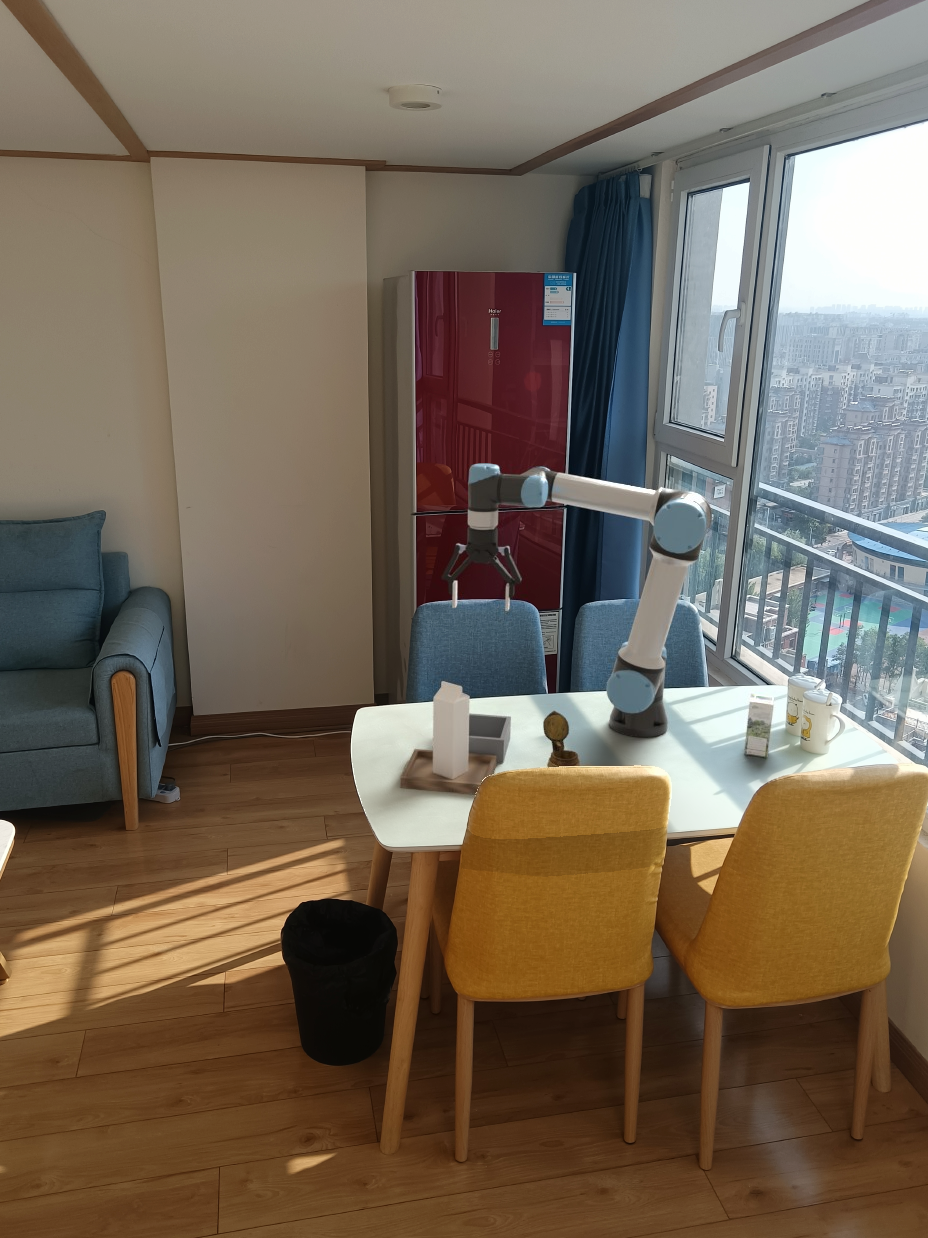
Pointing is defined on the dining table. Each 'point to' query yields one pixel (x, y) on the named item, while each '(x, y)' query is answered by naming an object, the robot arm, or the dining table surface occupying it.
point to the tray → (423, 777)
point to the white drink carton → (759, 725)
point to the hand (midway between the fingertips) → (480, 608)
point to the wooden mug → (559, 741)
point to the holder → (489, 735)
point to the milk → (450, 731)
